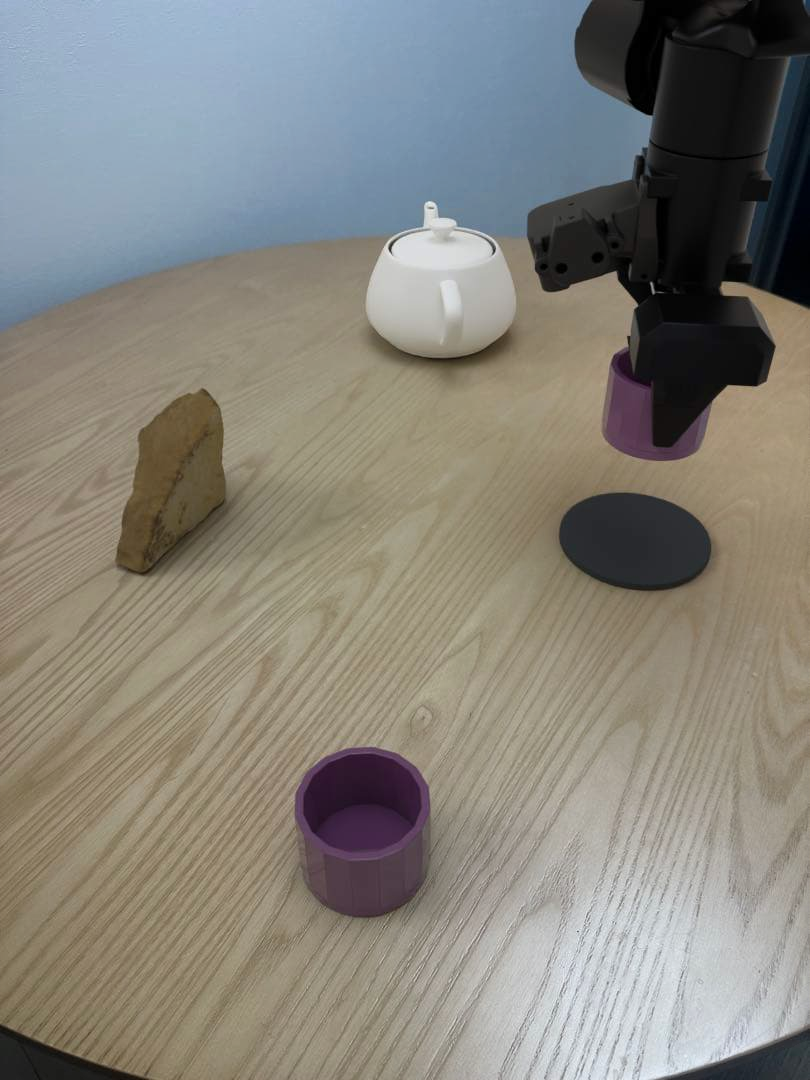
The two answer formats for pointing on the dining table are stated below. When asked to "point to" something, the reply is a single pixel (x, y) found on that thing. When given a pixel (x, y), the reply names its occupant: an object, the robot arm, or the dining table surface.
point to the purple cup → (640, 416)
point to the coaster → (635, 541)
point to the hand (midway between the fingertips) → (656, 416)
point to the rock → (173, 479)
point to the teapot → (441, 290)
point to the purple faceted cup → (363, 830)
